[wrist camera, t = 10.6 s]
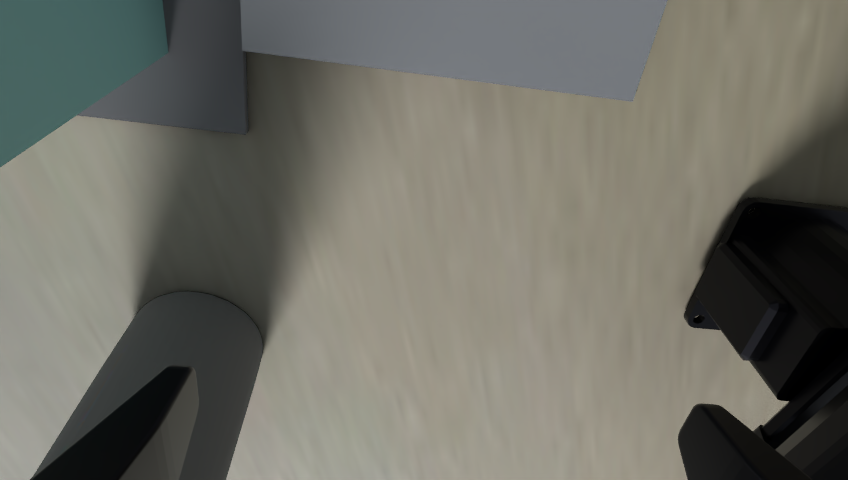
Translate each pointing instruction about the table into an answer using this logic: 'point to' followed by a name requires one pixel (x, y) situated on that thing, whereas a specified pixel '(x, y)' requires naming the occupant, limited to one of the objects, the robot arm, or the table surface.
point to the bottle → (186, 346)
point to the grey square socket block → (469, 39)
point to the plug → (68, 60)
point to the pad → (189, 73)
